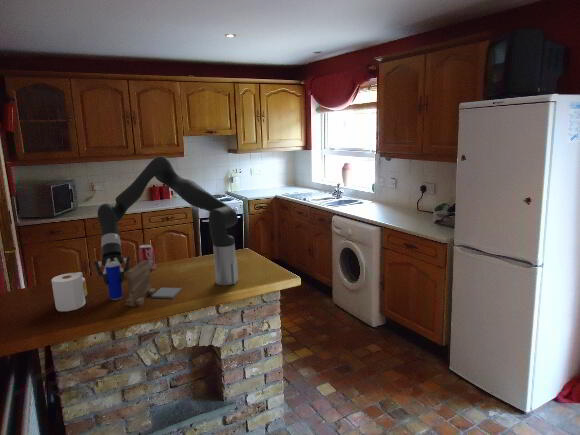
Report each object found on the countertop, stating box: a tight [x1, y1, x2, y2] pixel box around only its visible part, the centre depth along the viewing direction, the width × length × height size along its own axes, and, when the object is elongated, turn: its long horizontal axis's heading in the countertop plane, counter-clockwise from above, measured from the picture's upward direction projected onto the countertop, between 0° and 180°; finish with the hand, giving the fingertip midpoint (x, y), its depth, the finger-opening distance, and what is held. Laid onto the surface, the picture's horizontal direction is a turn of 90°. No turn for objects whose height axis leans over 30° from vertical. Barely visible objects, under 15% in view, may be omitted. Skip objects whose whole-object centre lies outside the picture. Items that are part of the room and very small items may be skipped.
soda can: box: [138, 243, 156, 272], centre depth 206 cm, size 7×7×12 cm
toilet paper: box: [50, 272, 87, 312], centre depth 166 cm, size 10×10×12 cm
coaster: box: [151, 287, 182, 299], centre depth 176 cm, size 9×9×1 cm
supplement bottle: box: [76, 271, 88, 297], centre depth 176 cm, size 5×5×10 cm
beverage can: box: [104, 261, 124, 301], centre depth 172 cm, size 5×5×15 cm
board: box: [125, 260, 157, 307], centre depth 170 cm, size 6×14×14 cm, turn 171°
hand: (114, 282), depth 170 cm, fingers closed on beverage can, 5 cm apart
